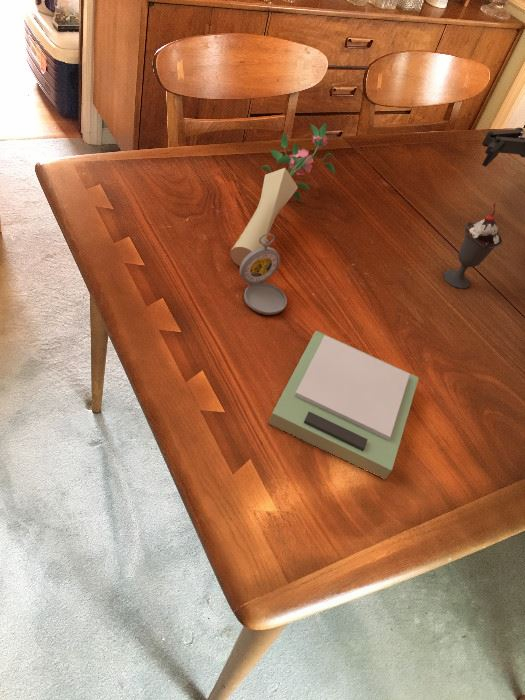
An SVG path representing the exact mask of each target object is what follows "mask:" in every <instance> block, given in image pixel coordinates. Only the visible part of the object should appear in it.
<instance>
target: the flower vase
mask: <svg viewBox="0 0 525 700" xmlns="http://www.w3.org/2000/svg"><path fill="white" fill-rule="evenodd" d="M310 127H311V131H312V134H313V135H311V138H312V139H311V141H312V144H314V146H315V150H314V152H313V154H309V153H310V150H307V149H305V148H303V147H302V148H301V149H300V148H299V144H298V143H297V142H295V143H294V144H293V146H292V150H291V154H287V152H286V150H284V152H285V153H284V154H285V155H283V153H282V152H279V151H278V150H275V149H269V151H270V153H271V155H272V156H273V158H274V159H276V162H275V163H278V164H280V165H281V164H288V165H289V166H288V168H289V169H288V170H287V168H286V167H283V168H280V169H278V170H274V171H272V169H271V167H270V165H268V164H263V165H262V166H260V168H261V169H262V170H264V171H267V172H269V173H267V174H265V175H264V179H263V184H262V190H261V195H260V199H259V202H258V205H257V208H256V209H255V211H254V213H253V215H252V217H250V220H249V221H248V223H247V225H246V227H245V228H244V230H243V232H242V233H241V235H240V236H239V238H238V239H237V240H236V242H235V244H234V245H233V246H232V248H231V249H230V252H229V253H230V254H229V257H230V258H231V260H232V261H233V263H234V264H236V265H237V266H239V267H240V265H241V263H242V261H243V259H244V258H245V257H246V256H247V255H248V254H249V253H251V252H252V251H254V250H256V249H258V248H261V247H264V246H263V245H262V244H260V242H259V239H260V237H261V236H263V235H264V234H270V233H271V229H272V227H273V224H274V222H275V220H276V217H277V216H278V214H279V213H280V212H281V211H282V209H283V208H284V207H285V206H286V204H287V203H288V202H289V200H290V199H291V198H292V196H293V197H294V198H295V199H296V200H298V201H299V202H301V199H302V196H301V194H300V192H299V191H297V190H298V189H302V190H306V191H311V188H310V187H309V186H308V184H306V183H304V182H301V181H300V182H298V184H297V183H296V181H295V180H294V178H293V177H292V176H293V175H294V174H295V173H296V175H297V176H299V175H303V176H305V171H306V172H307V173H309V174H311V171H312V168H313V163H314V158H315V159H316V160H317V161H318V162H320V163H322V164H324V167H326V168H327V169H328V170H329V171H330V172H332V173H333V174H337V173H336V169H335V167H334V165H333V164H332V162H330V161H329V162H327V163H326V162H323V160H324V159H325V158H328V157H334V156H335V155H334V154H333V153H327V154H325V155H324V157H323V159H318V158H317V157H314V156H315V154H316V153H317V151H318V148H324V147H327V144H328V143H329V142H328V140H329V139H328V136H327V135H326V133H327V129H328V128H327V123H326V122H325V123H324V124H322V125H321V126H320V128H319V129H318V127H317V126H315V125H313V124H312V123H311V124H310ZM280 147H282V148H284V149H286V148H287V147H289V140H288V136H287V135H286V134H285V132H283V133H282V135H281V137H280ZM290 169H291V170H290ZM268 237H269V235H266V236H264V237H262V239H261V242H262V243H263V242H265V241H266V240H268Z"/></svg>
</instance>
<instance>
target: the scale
mask: <svg viewBox="0 0 525 700" xmlns="http://www.w3.org/2000/svg"><path fill="white" fill-rule="evenodd" d="M419 378H420V377H419V376H417V375H414V374H412V373H411V372H408V371H406V370H404V369H401V368H399V367H397V366H395V365H394V364H391V363H388V362H386V361H384V360H382V359H380V358H377V357H375V356H373V355H371V354H369V353H367V352H364V351H362V350H360V349H358V348H355V347H353V346H351V345H349V344H346V343H345V342H342V341H340V340H338V339H336V338H334V337H331V336H329V335H327V334H325V333H323V332H321V331H318V330H315V331H314V333H313V334H312V336H311V339H310V340H309V342H308V344H307V346H306V348H305V349H304V352H303V354H302V355H301V357H300V358H299V361H298V363H297V365H296V367H295V369H294V370H293V373H292V375H291V376H290V378H289V380H288V382H287V383H286V386H285V388H284V389H283V391H282V393H281V395H280V396H279V399H278V401H277V403H276V405H275V406H274V408H273V410H272V413H271V415H270V417H269V420H268V423H267V424H268V425H271V426H272V427H275V428H276V429H278V430H280V431H282V432H284V431H285V433H286V432H287V433H286V434H289V435H291V434H292V435H291V436H293V437H295V436H296V437H295V438H297V439H299V440H301V439H302V440H301V441H303V442H305V443H307V444H309V445H311V446H313V447H315V446H316V448H317V447H318V448H317V449H319V450H322V451H324V450H325V451H324V452H326V451H327V452H326V453H328V452H329V453H328V454H330V453H331V454H330V455H332V454H333V455H332V456H334V455H335V456H334V457H336V456H337V457H336V458H338V457H340V458H342V459H344V460H346V461H348V462H349V463H348V462H347V463H348V464H351V463H352V464H351V465H353V464H354V465H353V466H355V467H357V466H358V467H357V468H359V467H360V468H359V469H361V468H363V469H365V470H368V471H370V472H372V473H375V474H377V475H379V476H380V477H383V478H384V479H385V480H387V478H388V477H389V475H390V474H391V473H392V471H393V468H394V465H395V462H396V458H397V455H398V452H399V448H400V445H401V442H402V437H403V435H404V431H405V427H406V424H407V422H408V421H407V420H408V417H409V414H410V410H411V407H412V403H413V400H414V396H415V393H416V390H417V386H418V382H419ZM340 458H339V459H340ZM342 459H341V460H342ZM344 460H343V461H344ZM346 461H345V462H346ZM363 469H362V470H363ZM365 470H364V471H365ZM384 479H383V480H384Z"/></svg>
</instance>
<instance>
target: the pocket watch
mask: <svg viewBox="0 0 525 700" xmlns="http://www.w3.org/2000/svg"><path fill="white" fill-rule="evenodd" d="M266 235H268V236H270V237H272V239H271V241H269V239H267V240H266V241H265V242H263V243H262V242H261V239H262V237H264V236H266ZM274 241H275V235H273V233H269V234H264V235H263V236H261V237H260V239H259V242H260V244H262V245H263V246H264V247H261V248H258V249H256V250H254V251H252V252H251V253H249V254H248V255H247V256H246V257H245V258H244V259H243V261H242V263H241V265H240V266H239V276H240V278H241V279H242V280H243V281H244V282H245V283H247V284H249V285H248V286H247V287H246V288H245V289H244V293H243V299H244V302H245V304H246V305H247V307H249V308H250V309H251V310H252V311H254V312H256V313H258V314H262V315H266V316H267V315H268V316H270V315H277V314H279V313H281V312H283V311H284V309H285V308H286V306H287V304H288V299H287V296H286V294H285V292H284V291H283V290H282V289H280V287H278V286H276V285H274V284H272V283H269V282H265V281H266V280H268V279H269V278H271V277H272V276H273V275H274V274H275V273H276V272H277V270H278V269H279V267H280V264H281V256H280V254H279V251H277V250H276V249H275V248H273V247H271V246H270V245H271V244H272V243H273V242H274ZM269 246H270V247H269Z"/></svg>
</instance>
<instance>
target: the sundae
mask: <svg viewBox="0 0 525 700" xmlns="http://www.w3.org/2000/svg"><path fill="white" fill-rule="evenodd" d="M492 205H493V211H492V213H491V214H488V215H486V216H485V218H484V219H479V220H478V221H476V222H473V221H471V222H469V221H468V222H467V224H466V225H465V226H464V229H463V231H464V233H465V236H464V239H463V241H462V243H461V245H460V249H459V251H458V254H457V256H458V259H459V262H460V265H459V268H458V269H456V270H455V269H448V270H445V271H444V272H443V279H444V281H445V282H446V283H447V284H448V285H450V286H452V287H454V288H457V289H467V288H469V287H470V283H471V282H470V280H469V278H468V277H467V276H466V275H465V272H466V271H467V269H468V268H474V267H477V266H479V265H480V264H481V263H483V261H484V260H485V259H486V258H487V257H488V256H489V255H490V253H491V252H492V251H493V250H494V249H495V248H498V247H500V246H502V245H503V238H502V236H501V234H500V233H499V231H498V224H497V223H496V221H495V220H494V215H495V212H496V202H493V203H492Z"/></svg>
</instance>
